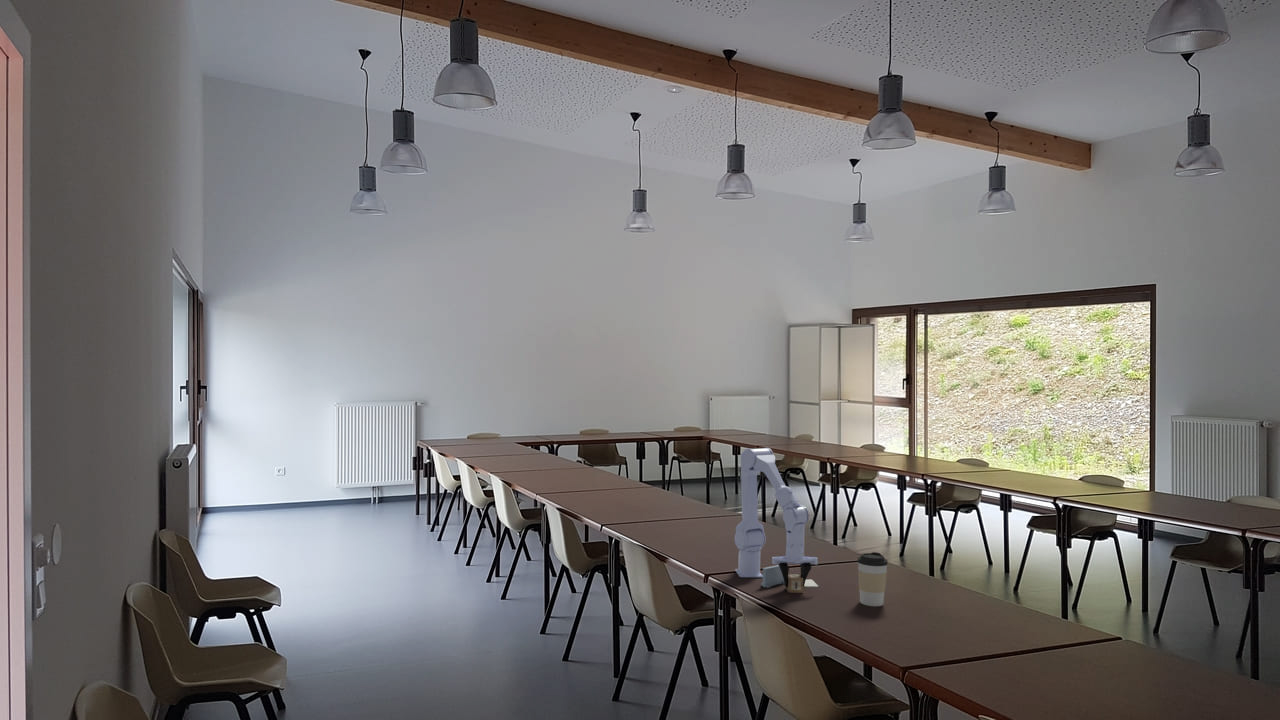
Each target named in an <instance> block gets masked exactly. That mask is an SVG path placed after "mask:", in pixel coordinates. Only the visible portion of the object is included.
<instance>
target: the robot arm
mask: <svg viewBox="0 0 1280 720" xmlns="http://www.w3.org/2000/svg"><path fill="white" fill-rule="evenodd" d="M761 472H762V473H763V474H764V475H765V477H766V478H767V479H768V481H769V482H770V484H771V485H772V487H773V489H774V490H775V493H774V497H775V498H776V501H777V502H778V505H779V507H780V508H781V510H782V512H783V514H782V520H783V522H784V528H785V530H786V531H785V532H786V536H785V537H786V540H785V541H786V543H785V545H786V546H785V555H783V556H772V557H771V564H772V565H779V567H780V569H781V572H782V575H783V579H784V584H783V585H784V587H785V588H786V587H788V575H789V571H790V567H789V565H791V564H792V565H797V564H798V565H800V575H801V576H802V578H803V588H805V587H804V585H805V581H806V580H807V577H808V576H809V573H810V571H811V570H812V565H814V566H815V565H818V564H819V563H818V561H819V560H818V557H817V556H805V530H806V528H805V524H807V523H808V521H809V517H810V514H809V511H808V509H807V507H806V506H804V505H803V504H801V503H800V502H799V501H798V498H797V497H796V495H795V494H794V492H793V488H791V487H789V486H787V485H785V482H784V480H783V479H782V475H781V474H780V472H779V469H778V467H777V465H776V455H774V451H773V450H772V449H771V448H769V447H762V448H758V447H757V448H746V449H744V450H743V452H741V454H740V484H741V485H740V486H741V489H740V490H741V517H742V519H741V521H740V522H739V523H738V524H737V525H736V526H735V534H734V544H735V546H736V547H737V549H738V559H737V560H738V562H737V563H738V564H737V566H738V567H737V568H735V572H736V573H737V576H738V577H739V578H763V573H761V550H763V547H764V546H765V544H766V542H767V541H766V540H767V539H766V533H765V529H764V525H763V523H761V522H760V521H759V511H758V510H759V507H758V505H759V504H758V502H759V501H758V474H760V473H761Z"/></svg>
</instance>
